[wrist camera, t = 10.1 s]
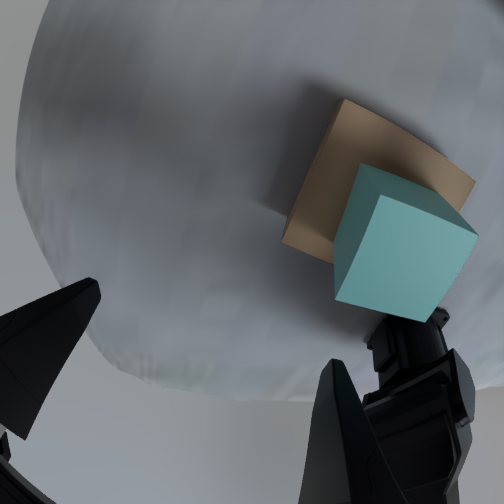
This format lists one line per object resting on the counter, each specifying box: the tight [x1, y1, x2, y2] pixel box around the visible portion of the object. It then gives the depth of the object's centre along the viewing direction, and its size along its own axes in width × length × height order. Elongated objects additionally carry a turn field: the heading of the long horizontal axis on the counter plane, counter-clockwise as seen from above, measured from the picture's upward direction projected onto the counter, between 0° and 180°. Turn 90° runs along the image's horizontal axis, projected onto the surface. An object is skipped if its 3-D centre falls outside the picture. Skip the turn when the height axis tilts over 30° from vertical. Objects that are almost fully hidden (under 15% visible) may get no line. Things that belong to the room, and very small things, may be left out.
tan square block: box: [281, 99, 476, 265], centre depth 15 cm, size 9×9×4 cm
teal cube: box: [333, 162, 479, 322], centre depth 12 cm, size 5×5×5 cm
